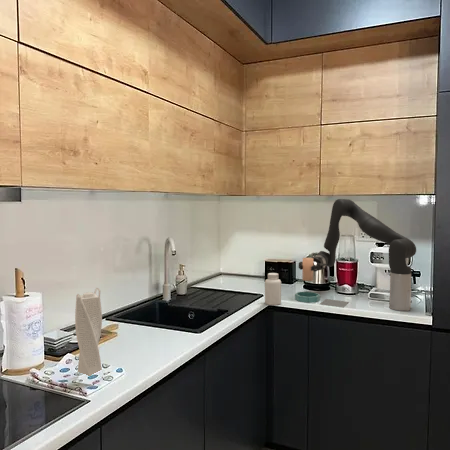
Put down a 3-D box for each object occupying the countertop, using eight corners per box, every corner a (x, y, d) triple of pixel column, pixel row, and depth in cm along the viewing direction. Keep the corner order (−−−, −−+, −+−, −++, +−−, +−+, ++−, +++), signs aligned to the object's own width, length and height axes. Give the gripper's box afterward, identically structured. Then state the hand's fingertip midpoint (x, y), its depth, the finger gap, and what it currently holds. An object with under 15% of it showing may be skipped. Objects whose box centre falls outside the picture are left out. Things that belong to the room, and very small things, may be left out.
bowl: (322, 299, 224) (322, 293, 224) (314, 304, 214) (315, 298, 214) (300, 296, 230) (300, 290, 230) (292, 301, 220) (292, 295, 220)
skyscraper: (110, 377, 131) (108, 285, 129) (95, 388, 123) (93, 291, 121) (85, 374, 133) (83, 284, 131) (69, 385, 125) (67, 289, 123)
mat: (349, 303, 217) (349, 301, 217) (343, 308, 207) (343, 307, 207) (326, 300, 223) (326, 298, 223) (319, 305, 213) (319, 304, 213)
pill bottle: (261, 303, 216) (261, 273, 215) (271, 300, 222) (272, 271, 221) (274, 306, 211) (274, 275, 210) (284, 303, 216) (284, 273, 215)
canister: (314, 279, 222) (314, 258, 221) (311, 281, 218) (311, 259, 217) (304, 278, 225) (304, 257, 224) (300, 280, 220) (301, 258, 219)
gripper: (304, 255, 236) (292, 259, 222) (330, 257, 229) (320, 261, 215) (303, 268, 237) (292, 274, 222) (329, 271, 230) (320, 276, 215)
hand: (306, 268), depth 219 cm, fingers closed on canister, 5 cm apart
